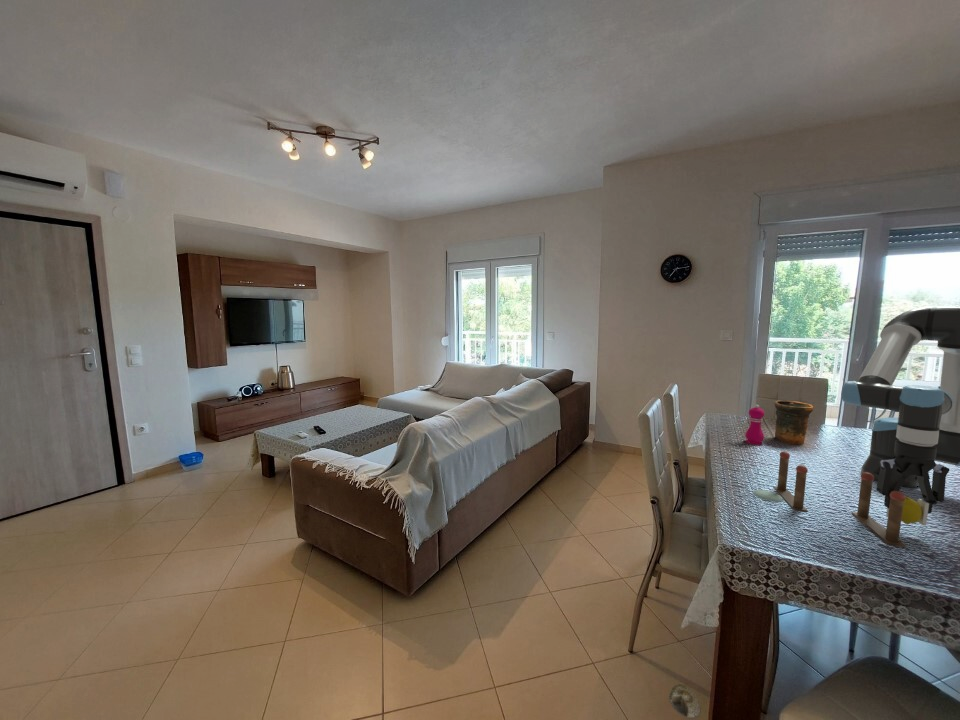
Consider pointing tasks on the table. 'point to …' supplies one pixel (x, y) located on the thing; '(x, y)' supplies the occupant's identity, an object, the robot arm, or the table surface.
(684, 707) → the cake
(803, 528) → the table surface
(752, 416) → the pepper mill
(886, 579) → the table surface
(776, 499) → the pad
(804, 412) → the vessel
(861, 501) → the gate course
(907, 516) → the lemon
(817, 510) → the table surface
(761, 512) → the table surface
